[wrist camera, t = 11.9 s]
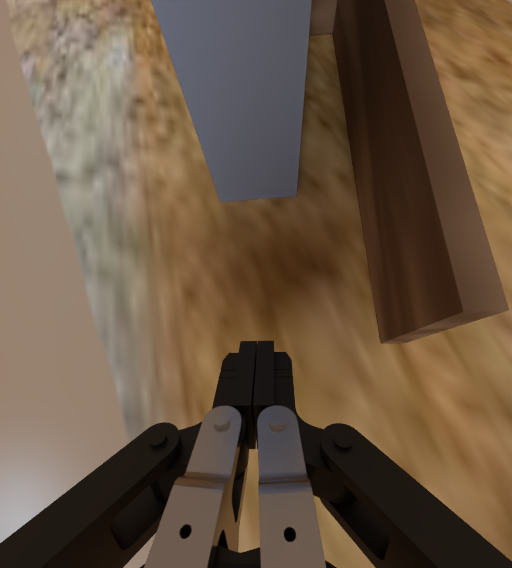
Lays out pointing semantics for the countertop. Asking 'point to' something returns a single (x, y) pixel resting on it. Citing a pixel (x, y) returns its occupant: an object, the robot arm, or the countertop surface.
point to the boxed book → (242, 87)
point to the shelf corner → (408, 174)
